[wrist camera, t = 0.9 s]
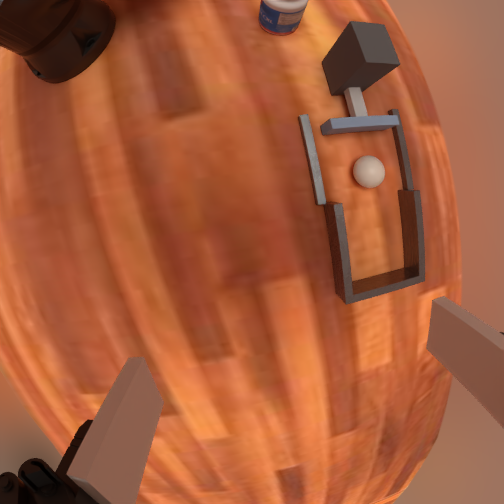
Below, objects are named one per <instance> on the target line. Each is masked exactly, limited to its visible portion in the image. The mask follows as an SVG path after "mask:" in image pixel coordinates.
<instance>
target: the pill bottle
mask: <svg viewBox="0 0 504 504" xmlns="http://www.w3.org/2000/svg"><path fill="white" fill-rule="evenodd" d="M307 2H308V0H261V4H260V12H259V23H260V25H261V27H262V28H263V29H264V30H266V31H267V32H269V33H272V34H275V35H287V34H290V33H292V32H294V31H295V30H296V29H297V27H298V25H299V23H300V20H301V18H302V15H303V13H304V10H305V8H306V5H307Z"/></svg>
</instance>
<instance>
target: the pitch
mask: <svg viewBox="0 0 504 504" xmlns="http://www.w3.org/2000/svg"><path fill="white" fill-rule="evenodd" d="M388 114H389V115H397V116H398V120H399V124H400V125H397V126H394V127H392V130H393V135H394V139H395V144H396V149H397V154H398V159H399V165H400V171H401V177H402V183H403V190H398V197H399V204H400V213H401V223H402V234H403V248H404V268H402V269H398V270H395V271H391V272H388V273H384V274H380V275H377V276H373V277H369V278H365V279H361V280H358V281H354V282H352V278H351V268H350V258H349V249H348V241H347V234H346V226H345V219H344V213H343V206H342V203H337V202H326V199H325V193H324V187H323V182H322V177H321V172H320V167H319V162H318V157H317V152H316V147H315V143H314V138H313V134H312V129H311V125H310V121H309V117H308V114H306V115H300V116H299V117H298V120H299V124H300V129H301V133H302V137H303V142H304V147H305V151H306V156H307V161H308V166H309V171H310V176H311V181H312V186H313V191H314V197H315V202H316V204H317V205H321V204H324V209H325V215H326V221H327V228H328V234H329V241H330V248H331V256H332V263H333V271H334V280H335V289H336V294H337V295H338V296H339V297H340V298H341V299H342V300H343V302H344V303H345V304H350V303H354V302H357V301H361V300H364V299H368V298H372V297H375V296H378V295H382V294H385V293H389V292H392V291H395V290H398V289H402V288H405V287H408V286H411V285H414V284H417V283H420V282H424V281H425V249H424V230H423V217H422V207H421V198H420V190H410V189H414V188H413V181H412V174H411V168H410V162H409V157H408V151H407V146H406V141H405V137H404V132H403V128H402V124H401V119H400V115H399V112H398V109H392V110H389V111H388Z"/></svg>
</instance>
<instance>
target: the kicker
mask: <svg viewBox="0 0 504 504" xmlns="http://www.w3.org/2000/svg"><path fill="white" fill-rule="evenodd" d="M322 65H323V68H324V71H325V74H326V78H327V81H328V84H329V88H330V91H331V95H345V98H346V101H347V105H348V109H349V113H350V117H344V118H332V119H329V120H328V121H326V122H325V123H324V124H323V125H321V131H322V135H329V134H339V133H349V132H361V131H375V130H386V129H389V128H391V127H394V126H397V125H400V124H399V120H398V116H397V115H382V116H368V115H367V111H366V107H365V103H364V100H363V96H362V93H361V92H363V91H364V90H365V89H367V88H368V87H369V86H371V85H372V84H374V83H375V82H376V81H378V80H379V79H381V78H382V77H383V76H385V75H386V74H388V73H389V72H390V71H392V70H393V69H395V68H396V67H398V66H399V65H400V62H399V59H398V57H397V54H396V52H395V49H394V46H393V44H392V41H391V39H390V37H389V34H388V32H387V30H386V27H385V25H382V24H375V23H366V22H354V21H350V22H349V24H348V25H347V27H346V28H345V29H344V31H343V32H342V34H341V35H340V36H339V38H338V39H337V41H336V42H335V44H334V45H333V46H332V48H331V49H330V51H329V52H328V54H327V55H326V57H325V58H324V60H323V61H322Z"/></svg>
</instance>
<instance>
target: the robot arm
mask: <svg viewBox="0 0 504 504" xmlns="http://www.w3.org/2000/svg"><path fill="white" fill-rule="evenodd" d="M114 27H115V16H114V13H113V11H112V10H111V9H110V8H109V6H108V5H107V4H106V3H105V2H103V1H101V0H0V46H2V47H4V48H6V49H8V50H10V51H12V52H15V53H17V54H19V55H21V56H22V57H23V59H24V60H25V62H26V63H27V65H28V66H29V68H30V69H31V70H32V72H33V73H34V75H35V76H37V77H38V78H40V79H42V80H44V81H46V82H49V83H59V82H63V81H66V80H68V79H70V78H72V77H74V76H76V75H77V74H79V73H80V72H82V71H83V70H84V69H86V68H87V67H88V66H89V65H90V64H91V63H92V62H93V61H94V60H95V59H96V58H97V57H98V56H99V55H100V54H101V52H102V51H103V50H104V48H105V47H106V45H107V44H108V42H109V40H110V38H111V36H112V34H113V31H114ZM426 349H427V350H428V351H429V352H430V353H431V354H432V355H433V356H434V357H435V358H436V359H438V360H439V361H440V362H441V363H442V364H443V365H444V366H445V367H446V368H447V369H448V370H449V371H450V372H451V373H452V374H453V375H454V376H455V377H456V378H457V379H458V381H459V382H460V383H461V384H462V385H463V386H464V387H465V388H466V389H467V390H468V391H469V392H470V393H471V394H472V395H473V396H474V397H475V398H476V399H477V400H478V401H479V402H480V403H481V404H482V406H483V407H484V408H485V409H486V410H487V411H488V412H489V413H490V414H491V415H492V416H493V417H494V419H495V420H496V421H497V422H498V423H499V424H500V425H501V426H502V427H503V428H504V333H502V332H498V331H497V330H495V329H494V328H492V327H491V326H490V325H488V324H486V323H485V322H484V321H482V320H481V319H479V318H477V317H476V316H474V315H473V314H471V313H470V312H468V311H467V310H465V309H463V308H462V307H460V306H459V305H457V304H456V303H454V302H453V301H451V300H449V299H448V298H446V297H445V296H443V297H440V298H437V299H434V300H432V309H431V318H430V327H429V334H428V341H427V348H426ZM163 404H164V401H163V399H162V397H161V395H160V393H159V391H158V389H157V386H156V384H155V382H154V380H153V377H152V375H151V373H150V370H149V368H148V366H147V363H146V361H145V358H144V357H133V358H128V360H127V362H126V363H125V365H124V367H123V368H122V370H121V372H120V374H119V375H118V377H117V379H116V381H115V382H114V384H113V386H112V388H111V389H110V391H109V393H108V395H107V397H106V398H105V400H104V402H103V404H102V406H101V407H100V409H99V411H98V413H97V415H96V417H95V418H94V420H87V421H86V422H85V423H84V424H83V425H81V426H80V427H79V429H78V431H77V432H76V434H75V436H74V439H73V440H72V441H71V443H70V447H68V449H67V451H66V453H65V454H64V456H63V458H62V460H61V462H60V464H59V466H58V468H57V470H56V472H54V471H53V470H52V469H51V468H50V467H49V465H48V464H46V462H44V461H43V460H42V459H38V458H33V459H29V460H27V461H25V462H24V463H23V464H22V465H21V467H20V469H19V471H18V477H17V476H16V475H15V474H13V473H11V472H5V473H3V474H1V475H0V504H135V503H136V499H137V495H138V491H139V487H140V484H141V480H142V476H143V473H144V469H145V465H146V462H147V458H148V455H149V451H150V448H151V444H152V441H153V437H154V434H155V431H156V427H157V424H158V421H159V417H160V414H161V411H162V408H163ZM22 481H23V482H22Z"/></svg>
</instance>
